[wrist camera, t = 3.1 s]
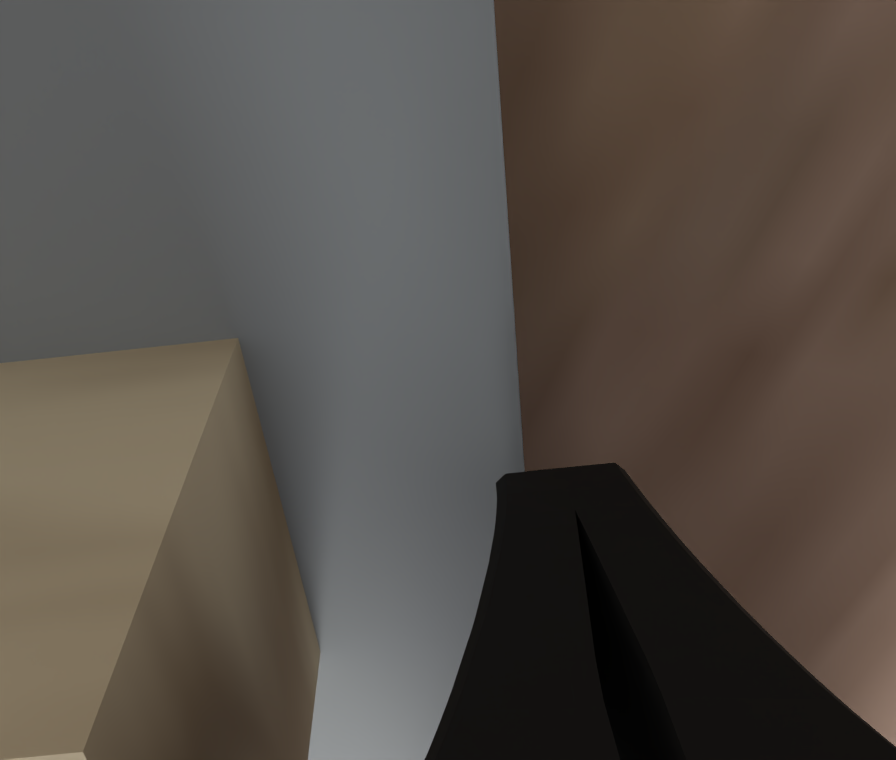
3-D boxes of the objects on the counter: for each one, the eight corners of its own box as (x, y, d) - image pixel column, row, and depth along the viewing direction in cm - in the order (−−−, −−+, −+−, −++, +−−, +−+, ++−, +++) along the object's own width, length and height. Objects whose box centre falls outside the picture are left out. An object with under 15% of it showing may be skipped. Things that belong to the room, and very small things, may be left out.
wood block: (320, 652, 12) (266, 1102, 7) (-33, 686, 12) (-286, 1151, 7) (237, 338, 9) (82, 752, 5) (-214, 385, 9) (-760, 832, 5)
